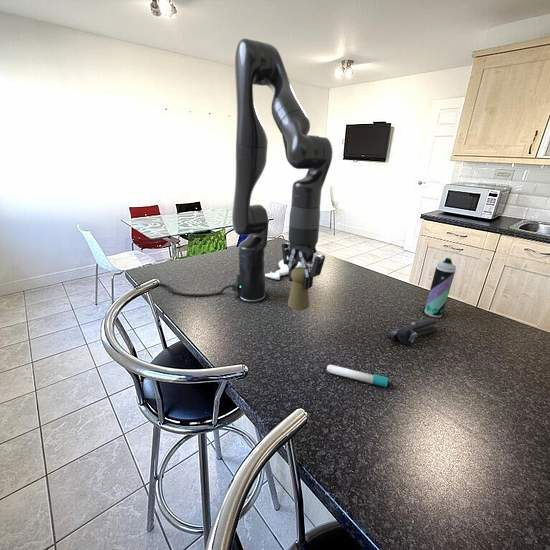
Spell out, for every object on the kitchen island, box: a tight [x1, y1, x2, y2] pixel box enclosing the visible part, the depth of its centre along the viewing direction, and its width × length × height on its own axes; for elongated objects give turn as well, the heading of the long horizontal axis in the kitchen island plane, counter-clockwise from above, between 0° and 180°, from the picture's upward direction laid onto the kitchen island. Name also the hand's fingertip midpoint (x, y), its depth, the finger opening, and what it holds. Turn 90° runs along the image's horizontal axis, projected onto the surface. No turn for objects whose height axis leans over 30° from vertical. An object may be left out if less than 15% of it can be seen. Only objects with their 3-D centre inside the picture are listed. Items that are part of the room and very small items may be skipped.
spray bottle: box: [265, 256, 308, 281], centre depth 130 cm, size 3×11×24 cm
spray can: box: [424, 257, 457, 318], centre depth 95 cm, size 6×6×20 cm
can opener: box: [387, 318, 438, 346], centre depth 86 cm, size 18×7×6 cm, turn 117°
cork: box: [287, 267, 310, 311], centre depth 80 cm, size 6×6×11 cm
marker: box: [326, 364, 389, 388], centre depth 70 cm, size 14×2×2 cm, turn 70°
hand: (299, 284), depth 80 cm, fingers closed on cork, 5 cm apart
